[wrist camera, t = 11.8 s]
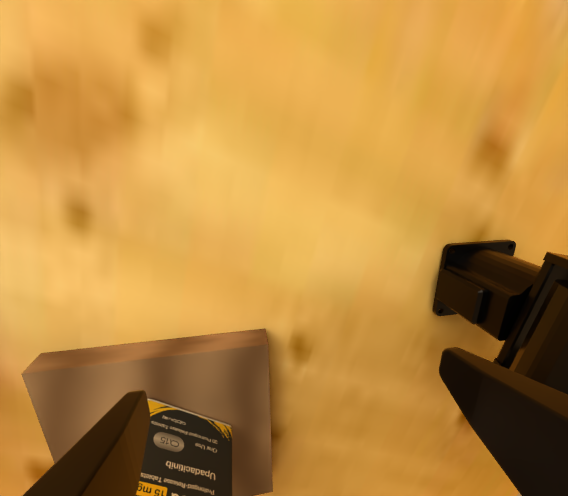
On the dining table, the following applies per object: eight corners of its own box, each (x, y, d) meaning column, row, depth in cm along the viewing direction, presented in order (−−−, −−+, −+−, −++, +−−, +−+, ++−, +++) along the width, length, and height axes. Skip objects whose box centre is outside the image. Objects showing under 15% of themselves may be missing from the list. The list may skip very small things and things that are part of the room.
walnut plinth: (265, 328, 23) (268, 344, 21) (269, 468, 28) (272, 491, 26) (40, 353, 20) (21, 373, 18) (91, 503, 25) (79, 531, 23)
